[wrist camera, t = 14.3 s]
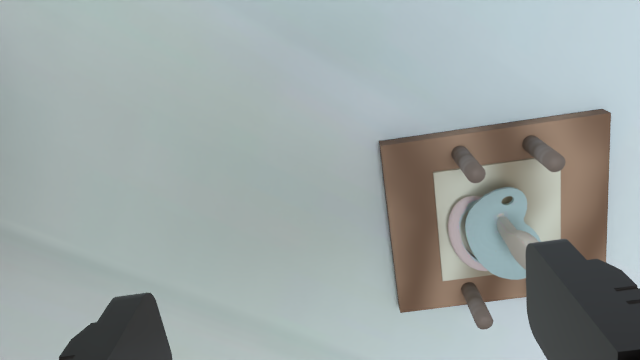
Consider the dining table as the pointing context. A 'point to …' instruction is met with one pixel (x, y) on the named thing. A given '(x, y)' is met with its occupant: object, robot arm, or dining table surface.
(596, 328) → the robot arm
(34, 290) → the dining table surface
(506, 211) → the pacifier
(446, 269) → the pin tray
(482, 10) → the dining table surface
